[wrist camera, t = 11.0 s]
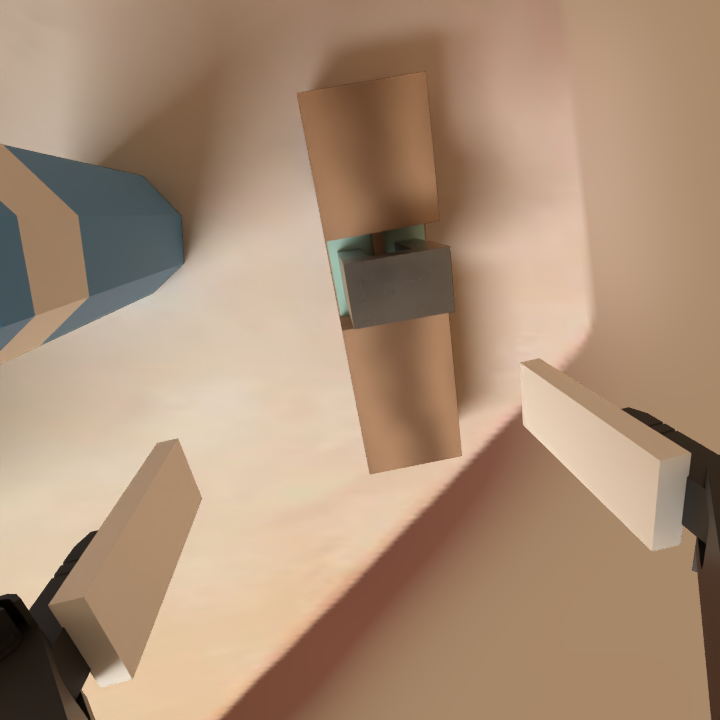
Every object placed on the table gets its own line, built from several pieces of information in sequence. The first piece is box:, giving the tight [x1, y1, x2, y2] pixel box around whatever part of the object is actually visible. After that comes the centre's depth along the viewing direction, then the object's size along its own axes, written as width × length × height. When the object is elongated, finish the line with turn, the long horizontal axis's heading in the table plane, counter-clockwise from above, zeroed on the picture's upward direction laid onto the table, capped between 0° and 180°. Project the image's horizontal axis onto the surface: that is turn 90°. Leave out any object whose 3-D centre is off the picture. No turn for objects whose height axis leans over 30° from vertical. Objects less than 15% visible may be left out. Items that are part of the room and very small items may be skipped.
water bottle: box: [0, 144, 184, 364], centre depth 19 cm, size 9×9×25 cm
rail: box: [297, 71, 462, 474], centre depth 32 cm, size 8×28×5 cm, turn 10°
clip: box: [337, 238, 455, 330], centre depth 29 cm, size 6×4×9 cm, turn 99°
